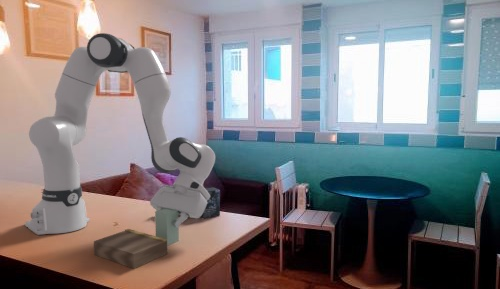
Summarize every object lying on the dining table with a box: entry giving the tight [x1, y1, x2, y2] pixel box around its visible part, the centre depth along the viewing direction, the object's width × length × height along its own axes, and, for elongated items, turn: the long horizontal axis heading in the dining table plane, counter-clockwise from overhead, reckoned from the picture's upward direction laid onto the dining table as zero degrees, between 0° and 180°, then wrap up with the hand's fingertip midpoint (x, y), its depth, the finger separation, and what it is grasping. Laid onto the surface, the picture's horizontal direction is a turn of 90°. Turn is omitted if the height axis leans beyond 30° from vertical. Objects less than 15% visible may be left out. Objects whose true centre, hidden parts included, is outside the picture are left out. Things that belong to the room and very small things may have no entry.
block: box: [154, 208, 180, 247], centre depth 116 cm, size 5×5×10 cm
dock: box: [93, 228, 168, 269], centre depth 106 cm, size 17×12×4 cm
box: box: [199, 187, 221, 220], centre depth 144 cm, size 8×6×11 cm
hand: (165, 224), depth 115 cm, fingers open, 7 cm apart
